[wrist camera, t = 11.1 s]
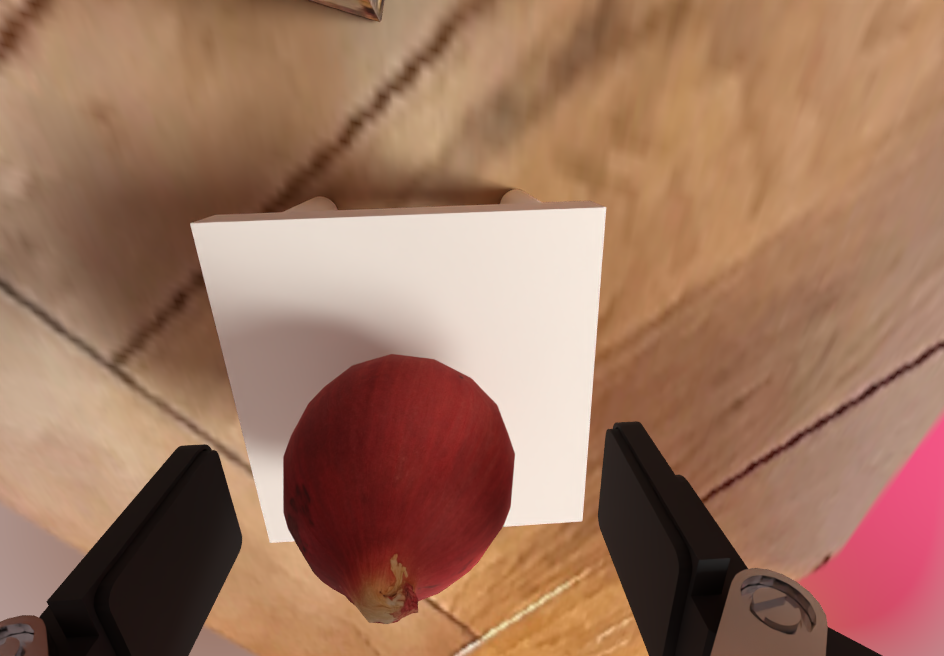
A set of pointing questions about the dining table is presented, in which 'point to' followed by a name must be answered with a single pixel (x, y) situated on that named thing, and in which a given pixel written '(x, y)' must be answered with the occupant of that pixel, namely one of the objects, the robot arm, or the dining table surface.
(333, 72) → the dining table surface
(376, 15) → the book
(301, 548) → the onion
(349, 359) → the stool
